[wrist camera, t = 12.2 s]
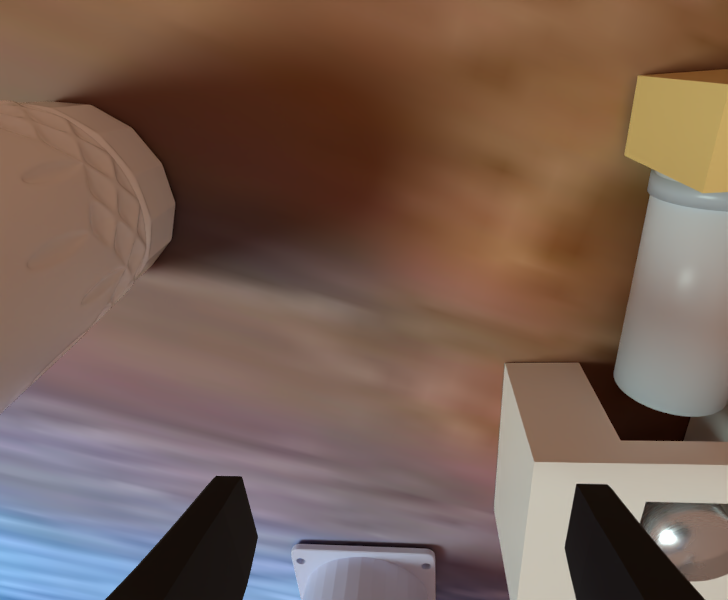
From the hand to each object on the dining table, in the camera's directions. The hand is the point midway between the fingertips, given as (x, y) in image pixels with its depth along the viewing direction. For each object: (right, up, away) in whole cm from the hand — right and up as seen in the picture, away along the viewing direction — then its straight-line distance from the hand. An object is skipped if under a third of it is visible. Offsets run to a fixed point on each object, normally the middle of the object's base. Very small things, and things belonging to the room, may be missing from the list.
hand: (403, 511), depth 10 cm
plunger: (+10, -3, +7) cm, 13 cm away
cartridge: (+10, +7, +6) cm, 14 cm away
